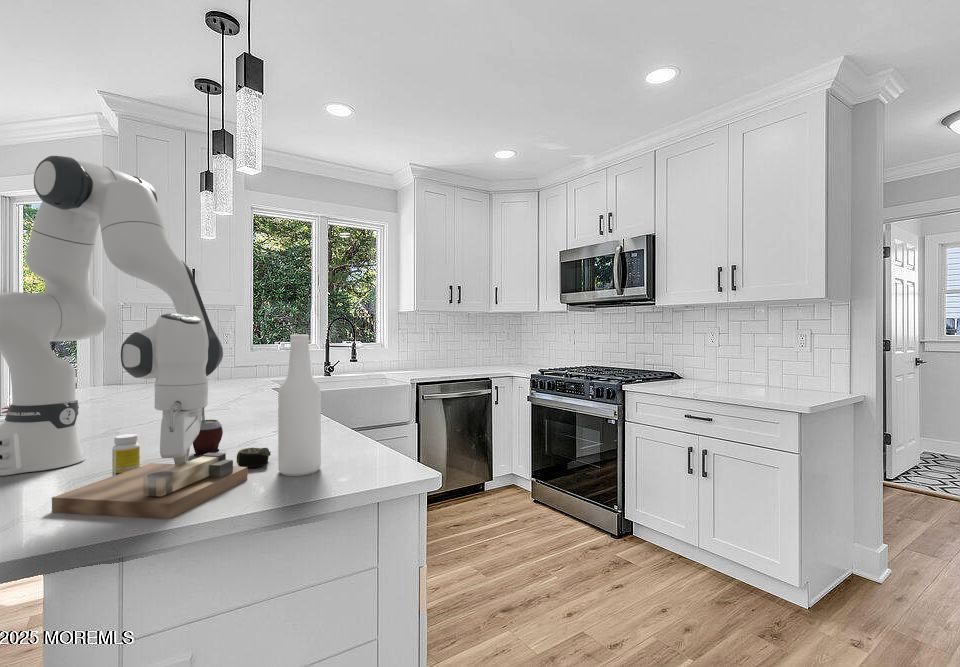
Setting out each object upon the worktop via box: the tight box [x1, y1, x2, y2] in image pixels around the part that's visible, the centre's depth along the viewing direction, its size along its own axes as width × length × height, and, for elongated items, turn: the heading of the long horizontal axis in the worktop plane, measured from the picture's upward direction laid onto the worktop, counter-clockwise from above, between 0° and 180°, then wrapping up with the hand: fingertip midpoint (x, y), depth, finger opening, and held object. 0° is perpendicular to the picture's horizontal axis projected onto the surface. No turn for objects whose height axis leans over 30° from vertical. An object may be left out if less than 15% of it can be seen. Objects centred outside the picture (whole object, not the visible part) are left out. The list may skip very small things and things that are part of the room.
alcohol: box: [277, 333, 322, 477], centre depth 111 cm, size 9×9×30 cm
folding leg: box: [143, 452, 227, 497], centre depth 95 cm, size 17×4×3 cm, turn 171°
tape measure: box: [236, 447, 271, 469], centre depth 116 cm, size 7×7×4 cm
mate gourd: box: [192, 407, 224, 457], centre depth 126 cm, size 8×8×15 cm
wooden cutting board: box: [51, 459, 248, 520], centre depth 96 cm, size 22×22×5 cm
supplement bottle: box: [111, 433, 141, 476], centre depth 108 cm, size 5×5×8 cm
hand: (181, 470), depth 98 cm, fingers closed
